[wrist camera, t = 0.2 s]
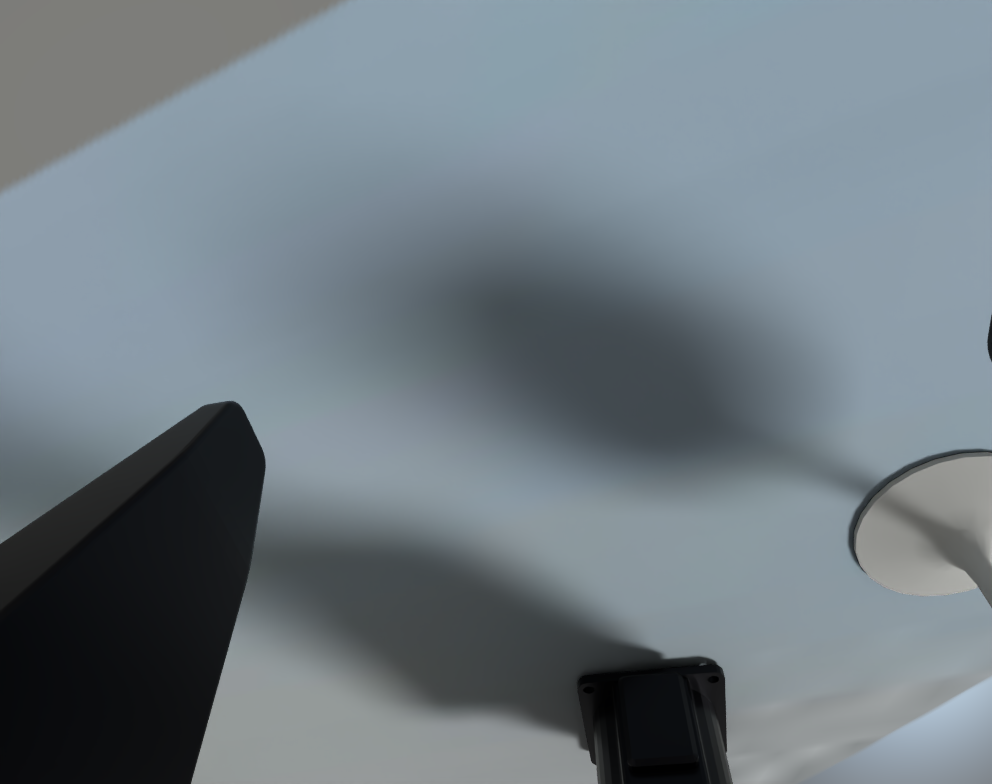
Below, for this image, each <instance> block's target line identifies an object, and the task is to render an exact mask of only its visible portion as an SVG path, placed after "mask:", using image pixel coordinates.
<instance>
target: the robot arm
mask: <svg viewBox="0 0 992 784" xmlns="http://www.w3.org/2000/svg"><path fill="white" fill-rule="evenodd" d="M987 342H988V352H989V356H990V359H991V361H992V315H991V321H990V327H989V333H988V341H987ZM265 468H266V464H265V456H264V452H263V450H262V447H261V445H260V443H259V441H258V439H257V437H256V435H255V433H254V431H253V428H252V426H251V424H250V422H249V420H248V418H247V416H246V414H245V412H244V410H243V408H242V407H241V406H240V405H239V404H238V403H236V402H234V401H226V402H220V403H213V404H207V405H204V406H202V407H200V408H199V409H198V410H196V411H195V412H193V413H192V414H190V415H189V416H187V417H186V418H184V419H183V420H181V421H180V422H178V423H177V424H176V425H174V426H173V427H171V428H170V429H168V430H167V431H165V432H164V433H162V434H161V435H159V436H158V437H156V438H155V439H154V440H152V441H151V442H149V443H148V444H146V445H145V446H143V447H142V448H140V449H139V450H137V451H136V452H134V453H133V454H132V455H130V456H129V457H127V458H126V459H124V460H123V461H121V462H120V463H118V464H117V465H115V466H114V467H112V468H111V469H110V470H108V471H107V472H105V473H104V474H102V475H101V476H99V477H98V478H96V479H95V480H93V481H92V482H90V483H89V484H88V485H86V486H85V487H83V488H82V489H80V490H79V491H77V492H76V493H74V494H73V495H71V496H70V497H68V498H67V499H66V500H64V501H63V502H61V503H60V504H58V505H57V506H55V507H54V508H52V509H51V510H49V511H48V512H46V513H45V514H44V515H42V516H41V517H39V518H38V519H36V520H35V521H33V522H32V523H30V524H29V525H27V526H26V527H24V528H23V529H22V530H20V531H19V532H17V533H16V534H14V535H13V536H11V537H10V538H8V539H7V540H5V541H4V542H2V543H1V544H0V784H191V781H192V778H193V774H194V770H195V767H196V763H197V759H198V756H199V752H200V749H201V745H202V741H203V738H204V734H205V731H206V727H207V723H208V720H209V716H210V712H211V709H212V705H213V702H214V698H215V694H216V691H217V687H218V684H219V680H220V676H221V673H222V669H223V665H224V662H225V658H226V655H227V651H228V647H229V644H230V640H231V637H232V633H233V629H234V626H235V622H236V618H237V615H238V611H239V608H240V604H241V600H242V597H243V593H244V590H245V586H246V582H247V578H248V574H249V570H250V564H251V559H252V554H253V548H254V541H255V535H256V528H257V522H258V515H259V509H260V502H261V496H262V489H263V483H264V476H265ZM577 686H578V695H579V700H580V705H581V710H582V715H583V721H584V726H585V731H586V736H587V742H588V747H589V752H590V757H591V761H592V763H593V764H595V765H596V766H597V778H598V784H733V782H732V778H731V773H730V769H729V765H728V761H727V756H726V752H727V738H726V701H725V677H724V673H723V670H722V668H721V667H720V666H718V665H702V666H690V667H679V668H667V669H655V670H644V671H632V672H621V673H609V674H597V675H587V676H583V677H581V678H579V679H578V682H577Z"/></svg>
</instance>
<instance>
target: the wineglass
mask: <svg viewBox="0 0 992 784" xmlns="http://www.w3.org/2000/svg"><path fill="white" fill-rule="evenodd" d="M854 550H855V553H856V556H857V559H858V562H859V564H860V566H861V567H862V568H863V570H864V571H865V572H866V573H867V575H868V576H869V577H870V578H871V579H872V580H874V581H875V582H877V583H879V584H880V585H882V586H883V587H885V588H888V589H891V590H893V591H896V592H899V593H902V594H909V595H917V596H941V595H949V594H955V593H960V592H965V591H969V590H972V589H975V588H978V587H979V589H980V590H981V592H982V593H983V595H984V597H985V598H986V600H987V601H988V603H989V604H990V606H991V607H992V453H989V452H977V453H960V454H956V455H952V456H947V457H943V458H939V459H935V460H932V461H930V462H927V463H925V464H922V465H920V466H918V467H915V468H913V469H910V470H909V471H907V472H906V473H904V474H902V475H901V476H899V477H897V478H896V479H894V480H893V481H891V482H889V483H888V484H887V485H886V486H885V487H884V488H883V489H882V490H881V491H880V492H878V493H877V494H876V495H875V496H874V497H873V498H872V499H871V501H870V502H869V503H868V505H867V506H866V508H865V509H864V510H863V512H862V513H861V515H860V517H859V520H858V523H857V525H856V528H855V531H854Z"/></svg>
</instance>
